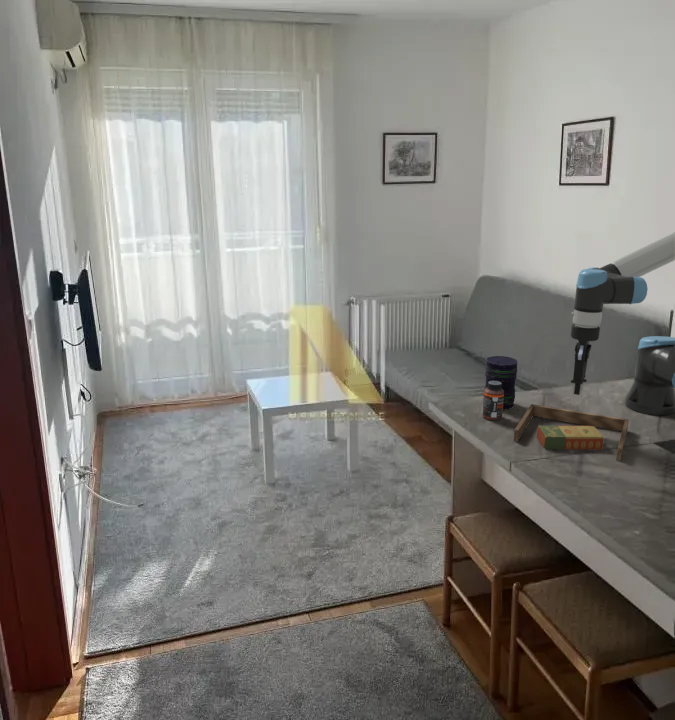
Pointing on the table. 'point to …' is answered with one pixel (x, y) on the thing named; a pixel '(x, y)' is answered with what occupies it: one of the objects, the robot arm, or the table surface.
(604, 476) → the table surface
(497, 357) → the storage jar
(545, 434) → the carton
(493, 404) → the supplement bottle
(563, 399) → the table surface
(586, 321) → the robot arm
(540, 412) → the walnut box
